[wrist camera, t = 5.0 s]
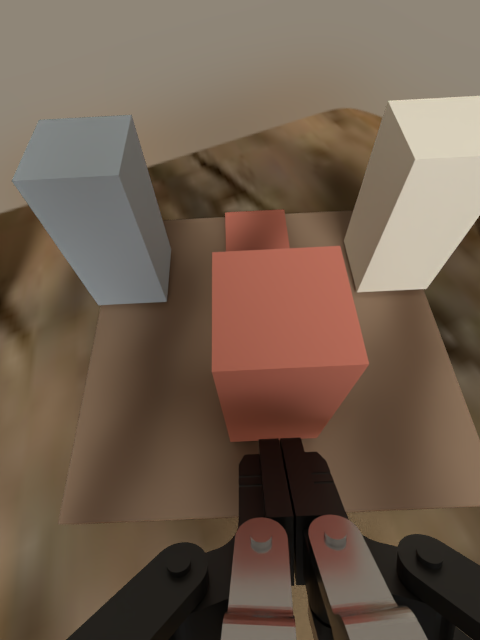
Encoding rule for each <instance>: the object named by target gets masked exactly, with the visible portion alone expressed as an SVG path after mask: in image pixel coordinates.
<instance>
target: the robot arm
mask: <svg viewBox="0 0 480 640" xmlns="http://www.w3.org/2000/svg"><path fill="white" fill-rule="evenodd" d="M258 443H259V454H247V455H244V456H243V458H242V460H241V461H240V463H239V524H238V529H237V532H236V534H235V536H234V537H233V538H232V539H231V540H230V541H229V542H228V543H227V544H226V545H224V546H222V547H220V548H218V549H216V550H213V551H210V552H207V553H205V552H204V551H203V549H201V548H200V547H199V546H197V545H195V544H193V543H188V542H182V543H177V544H173V545H171V546H169V547H167V548H166V549H164V550H163V551H162V552H160V553H159V554H158V555H157V556H156V557H155V558H154V559H153V560H152V561H151V562H150V563H149V564H148V565H146V566H145V567H144V568H143V569H142V570H141V571H140V572H139V573H138V574H137V575H136V576H135V577H133V578H132V579H131V580H130V581H129V582H128V583H127V584H126V585H125V586H124V587H123V588H122V589H121V590H119V591H118V592H117V593H116V594H115V595H114V596H113V597H112V598H111V599H110V600H109V601H108V602H106V603H105V604H104V605H103V606H102V607H101V608H100V609H99V610H98V611H97V612H96V613H95V614H94V615H92V616H91V617H90V618H89V619H88V620H87V621H86V622H85V623H84V624H83V625H82V626H81V627H79V628H78V629H77V630H76V631H75V632H74V633H73V634H72V635H71V636H70V637H69V638H68V639H66V640H296V629H295V619H294V615H293V606H292V592H291V586H292V585H294V573H295V579H296V585H306V590H307V595H308V616H309V621H310V625H311V629H312V633H313V637H314V640H472V639H473V640H480V565H478V564H476V563H475V562H473V561H471V560H470V559H468V558H467V557H465V556H463V555H462V554H460V553H459V552H457V551H455V550H454V549H452V548H450V547H449V546H447V545H446V544H444V543H442V542H441V541H439V540H437V539H435V538H432V537H430V536H426V535H421V534H413V535H408V536H406V537H404V538H403V539H402V540H401V541H400V542H399V545H398V547H396V546H392V545H388V544H384V543H379V542H376V541H373V540H371V539H369V538H367V537H365V536H363V535H362V534H361V532H360V530H359V529H358V528H357V527H356V525H355V524H353V523H352V522H351V521H349V519H348V517H347V514H346V512H345V509H344V506H343V504H342V501H341V499H340V496H339V493H338V491H337V488H336V485H335V483H334V480H333V477H332V475H331V473H330V469H329V467H328V464H327V461H326V460H325V459H324V458H323V457H322V456H321V455H320V454H319V453H318V452H305V451H304V447H303V444H302V441H301V438H300V437H298V438H280V443H279V439H278V438H276V439H259V440H258ZM455 626H456V627H455ZM458 628H459V629H460V630H461V631H460V630H459V629H458ZM462 631H463V632H464V633H465V634H464V633H463V632H462ZM467 635H468V636H469V637H468V636H467ZM471 638H472V639H471Z"/></svg>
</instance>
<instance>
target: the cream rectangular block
mask: <svg viewBox="0 0 480 640" xmlns="http://www.w3.org/2000/svg"><path fill="white" fill-rule="evenodd" d="M479 216H480V96H468V97H449V98H431V99H413V100H395V101H388V102H387V106H386V109H385V112H384V115H383V118H382V121H381V125H380V128H379V131H378V134H377V137H376V140H375V144H374V147H373V150H372V153H371V156H370V159H369V163H368V166H367V169H366V172H365V175H364V178H363V182H362V185H361V188H360V191H359V194H358V198H357V201H356V204H355V207H354V210H353V213H352V217H351V220H350V223H349V226H348V229H347V232H346V236H345V239H344V243H345V247H346V251H347V255H348V259H349V263H350V267H351V271H352V275H353V279H354V283H355V287H356V291H357V292H374V291H394V290H415V289H427V287H428V286H429V285H430V283H431V282H432V281H433V279H434V278H435V276H436V275H437V274H438V272H439V271H440V270H441V268H442V267H443V265H444V264H445V263H446V261H447V260H448V258H449V257H450V256H451V254H452V253H453V252H454V250H455V249H456V247H457V246H458V245H459V243H460V242H461V241H462V239H463V238H464V236H465V235H466V234H467V232H468V231H469V230H470V228H471V227H472V225H473V224H474V223H475V221H476V220H477V218H478V217H479Z"/></svg>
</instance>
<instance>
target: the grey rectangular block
mask: <svg viewBox="0 0 480 640" xmlns="http://www.w3.org/2000/svg"><path fill="white" fill-rule="evenodd" d="M12 182H13V183H14V185H15V186H16V188H17V189H18V190H19V192H20V193H21V195H22V196H23V198H24V199H25V201H26V202H27V204H28V205H29V206H30V208H31V209H32V211H33V212H34V214H35V215H36V216H37V218H38V219H39V221H40V222H41V224H42V225H43V226H44V228H45V229H46V231H47V232H48V234H49V235H50V237H51V238H52V239H53V241H54V242H55V244H56V245H57V247H58V248H59V249H60V251H61V252H62V254H63V255H64V257H65V258H66V260H67V261H68V262H69V264H70V265H71V267H72V268H73V270H74V271H75V272H76V274H77V275H78V277H79V278H80V280H81V281H82V282H83V284H84V285H85V287H86V288H87V290H88V291H89V293H90V294H91V295H92V297H93V298H94V300H95V301H96V303H97V304H98V305H113V304H133V303H153V302H167V295H168V283H169V271H170V259H171V247H170V244H169V240H168V237H167V233H166V230H165V227H164V223H163V220H162V217H161V213H160V210H159V206H158V203H157V200H156V196H155V193H154V189H153V186H152V183H151V179H150V176H149V173H148V169H147V166H146V162H145V159H144V156H143V152H142V149H141V146H140V143H139V139H138V135H137V132H136V128H135V125H134V122H133V118H132V115H123V116H122V115H121V116H102V117H84V118H65V119H47V120H39V121H38V123H37V126H36V128H35V130H34V132H33V135H32V137H31V139H30V141H29V144H28V146H27V148H26V150H25V152H24V155H23V157H22V159H21V161H20V164H19V166H18V168H17V170H16V173H15V175H14V177H13V179H12Z"/></svg>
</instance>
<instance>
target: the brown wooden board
mask: <svg viewBox="0 0 480 640" xmlns="http://www.w3.org/2000/svg"><path fill="white" fill-rule="evenodd" d="M352 213H353V210H351V211H332V212H313V213H293V214H285V212H284V209H283V210H264V211H245V212H226V213H225V217H216V218H197V219H178V220H163V223H164V227H165V230H166V233H167V237H168V240H169V244H170V247H171V259H170V271H169V283H168V295H167V302H153V303H133V304H113V305H101V307H100V312H99V317H98V322H97V327H96V332H95V337H94V343H93V348H92V353H91V358H90V363H89V368H88V373H87V378H86V383H85V388H84V393H83V399H82V404H81V409H80V414H79V419H78V424H77V429H76V434H75V439H74V444H73V449H72V455H71V460H70V465H69V470H68V475H67V480H66V485H65V490H64V495H63V500H62V505H61V511H60V516H59V521H58V524H93V523H116V522H139V521H161V520H184V519H207V518H229V517H239V463H240V461H241V460H242V458H243V456H244V455H247V454H259V443H258V441H241V442H230V438H229V434H228V431H227V427H226V423H225V419H224V416H223V412H222V408H221V404H220V401H219V397H218V393H217V389H216V386H215V382H214V378H213V374H212V252H228V251H247V250H267V249H286V248H306V247H326V246H340V247H341V251H342V255H343V259H344V263H345V267H346V271H347V275H348V279H349V283H350V288H351V292H352V296H353V300H354V304H355V308H356V312H357V316H358V320H359V324H360V329H361V333H362V337H363V341H364V345H365V349H366V353H367V357H368V361H369V365H368V367H367V368H366V370H365V371H364V372H363V374H362V375H361V377H360V378H359V379H358V381H357V382H356V384H355V385H354V386H353V388H352V389H351V391H350V392H349V394H348V395H347V396H346V398H345V399H344V401H343V402H342V403H341V405H340V406H339V408H338V409H337V410H336V412H335V413H334V415H333V416H332V418H331V419H330V420H329V422H328V423H327V425H326V426H325V427H324V429H323V430H322V432H321V433H320V434H319V436H318V437H317V438H306V439H301V441H302V444H303V447H304V451H305V452H318V453H319V454H320V455H321V456H322V457H323V458H324V459H325V460H326V461H327V464H328V467H329V469H330V473H331V475H332V477H333V480H334V483H335V485H336V488H337V491H338V493H339V496H340V499H341V501H342V504H343V506H344V509H345V512H365V511H388V510H410V509H433V508H456V507H478V506H480V440H479V437H478V434H477V432H476V429H475V426H474V424H473V421H472V418H471V416H470V413H469V410H468V408H467V405H466V402H465V400H464V397H463V394H462V392H461V389H460V386H459V384H458V381H457V378H456V376H455V373H454V370H453V367H452V365H451V362H450V359H449V357H448V354H447V351H446V349H445V346H444V343H443V341H442V338H441V335H440V333H439V330H438V327H437V325H436V322H435V319H434V317H433V314H432V311H431V309H430V306H429V303H428V301H427V298H426V295H425V292H424V290H423V289H415V290H394V291H374V292H357V291H356V287H355V283H354V279H353V275H352V271H351V267H350V263H349V259H348V255H347V251H346V247H345V243H344V239H345V236H346V232H347V229H348V226H349V223H350V220H351V217H352ZM279 443H280V440H279Z"/></svg>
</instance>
